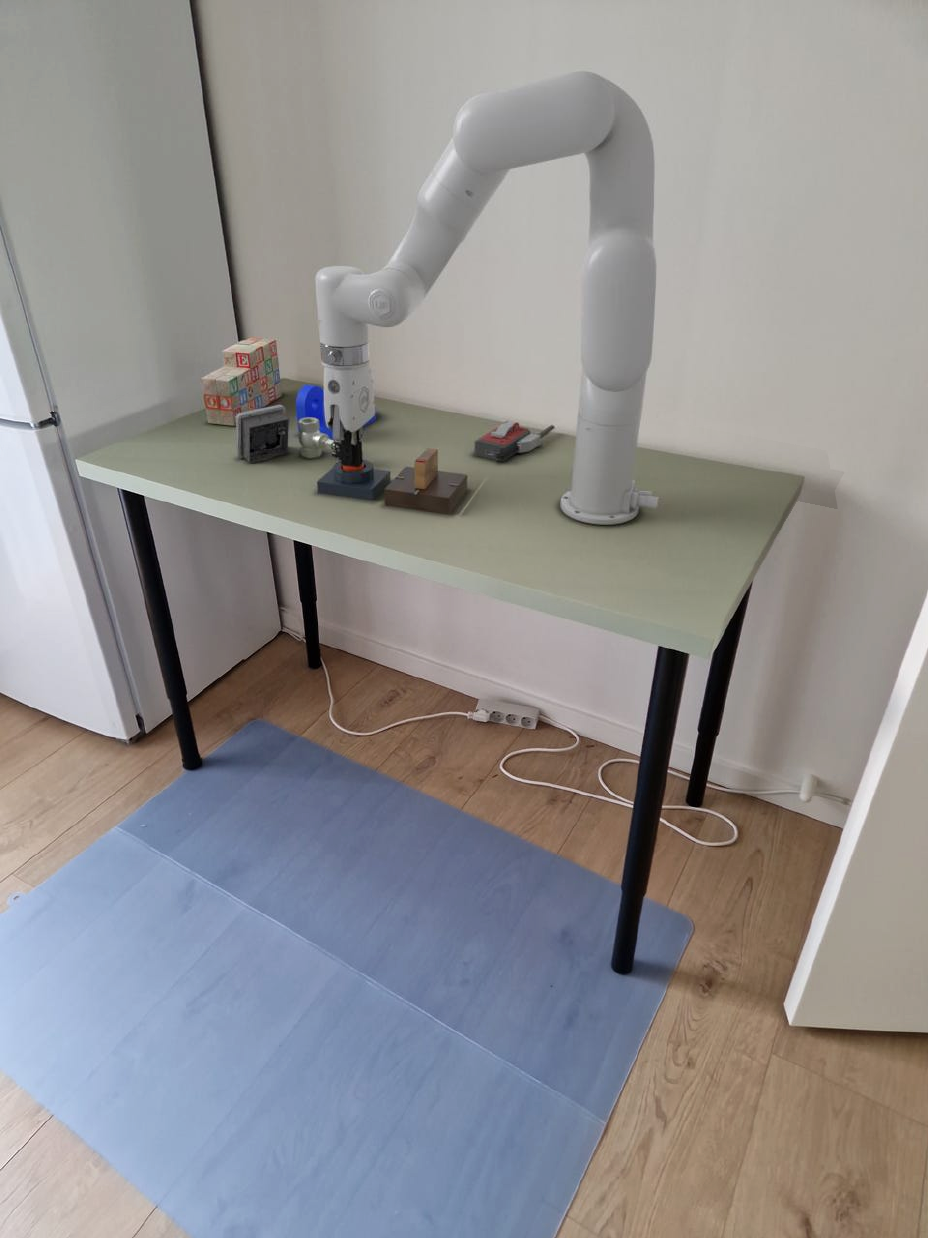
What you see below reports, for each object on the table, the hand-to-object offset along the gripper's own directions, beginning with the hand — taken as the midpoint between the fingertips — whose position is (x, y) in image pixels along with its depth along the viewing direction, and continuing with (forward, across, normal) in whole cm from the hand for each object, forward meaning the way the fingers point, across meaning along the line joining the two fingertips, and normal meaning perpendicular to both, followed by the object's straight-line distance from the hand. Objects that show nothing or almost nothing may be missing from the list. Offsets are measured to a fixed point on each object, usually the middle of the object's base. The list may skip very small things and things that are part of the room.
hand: (352, 464), depth 136 cm
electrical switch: (+5, +8, +21) cm, 23 cm away
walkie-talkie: (+4, +28, -21) cm, 35 cm away
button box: (+4, 0, 0) cm, 4 cm away
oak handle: (+1, 0, -13) cm, 13 cm away
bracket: (+5, +28, +15) cm, 32 cm away
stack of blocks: (+5, +31, +38) cm, 49 cm away
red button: (+2, 0, 0) cm, 2 cm away
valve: (+5, +10, +10) cm, 15 cm away
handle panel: (+4, 0, -13) cm, 14 cm away
